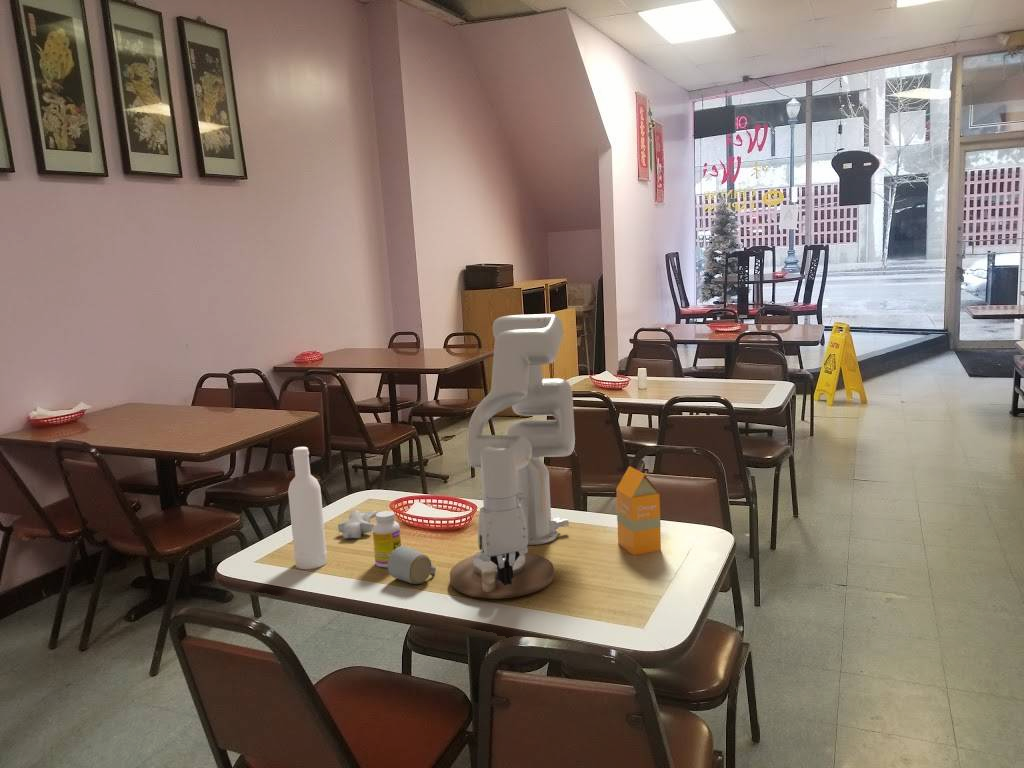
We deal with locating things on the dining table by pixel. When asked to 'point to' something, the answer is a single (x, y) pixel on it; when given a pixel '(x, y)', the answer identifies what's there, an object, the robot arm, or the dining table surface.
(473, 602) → the dining table surface
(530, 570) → the lazy susan
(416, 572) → the ceramic mug
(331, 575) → the dining table surface
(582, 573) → the dining table surface
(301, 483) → the bottle
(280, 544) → the dining table surface
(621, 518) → the orange juice
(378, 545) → the supplement bottle
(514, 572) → the steel cover
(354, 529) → the bunny figurine
